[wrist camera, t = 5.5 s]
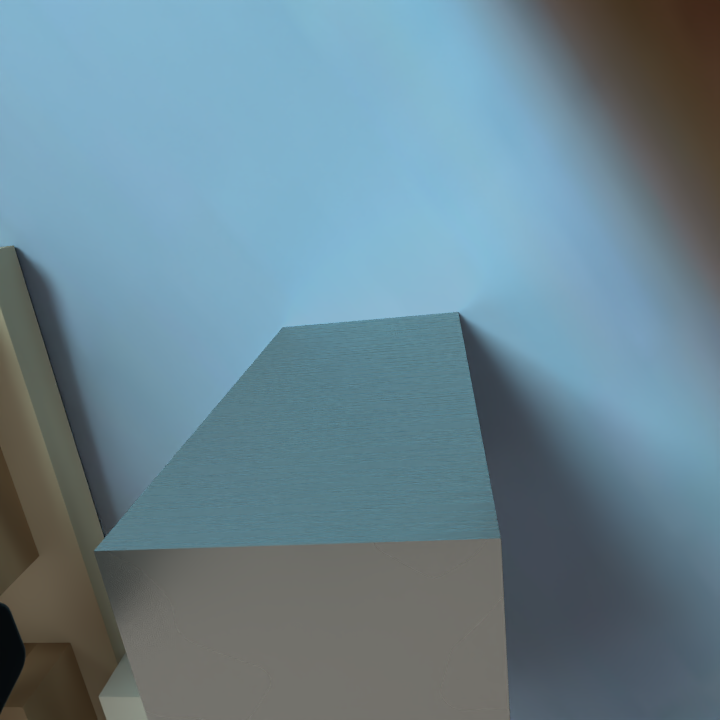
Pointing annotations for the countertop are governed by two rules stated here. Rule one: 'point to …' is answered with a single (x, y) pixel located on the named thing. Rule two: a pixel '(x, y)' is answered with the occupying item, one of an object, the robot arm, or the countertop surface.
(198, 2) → the countertop surface
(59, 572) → the board
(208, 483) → the block
